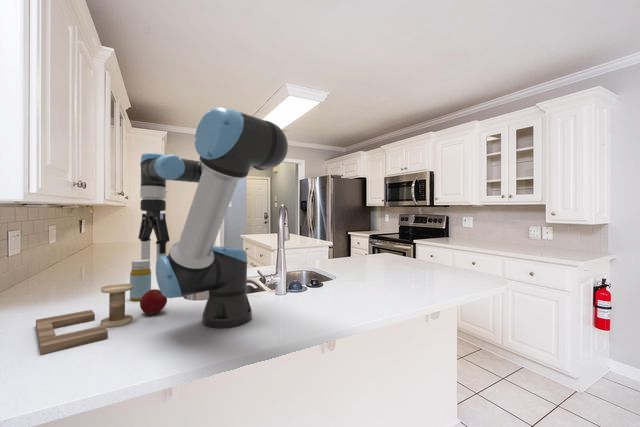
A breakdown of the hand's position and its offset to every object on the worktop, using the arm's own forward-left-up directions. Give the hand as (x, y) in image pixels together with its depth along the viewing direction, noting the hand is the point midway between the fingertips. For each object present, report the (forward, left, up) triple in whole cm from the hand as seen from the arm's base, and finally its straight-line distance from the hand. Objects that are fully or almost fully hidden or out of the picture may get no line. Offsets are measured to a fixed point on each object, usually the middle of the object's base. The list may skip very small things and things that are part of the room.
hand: (152, 261), depth 100 cm
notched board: (-3, +22, -17) cm, 28 cm away
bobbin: (-3, +11, -17) cm, 20 cm away
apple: (-2, 0, -17) cm, 17 cm away
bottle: (+19, -2, -17) cm, 26 cm away
